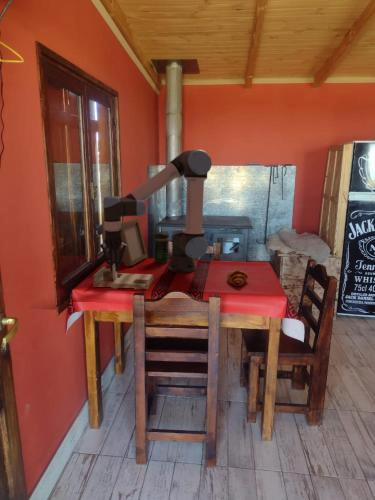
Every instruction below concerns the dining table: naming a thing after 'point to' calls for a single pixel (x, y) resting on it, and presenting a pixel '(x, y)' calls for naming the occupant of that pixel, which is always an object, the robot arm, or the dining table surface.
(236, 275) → the croissant
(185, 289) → the dining table surface
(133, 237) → the photo frame
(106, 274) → the walnut block
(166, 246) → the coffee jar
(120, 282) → the trap board
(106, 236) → the robot arm
